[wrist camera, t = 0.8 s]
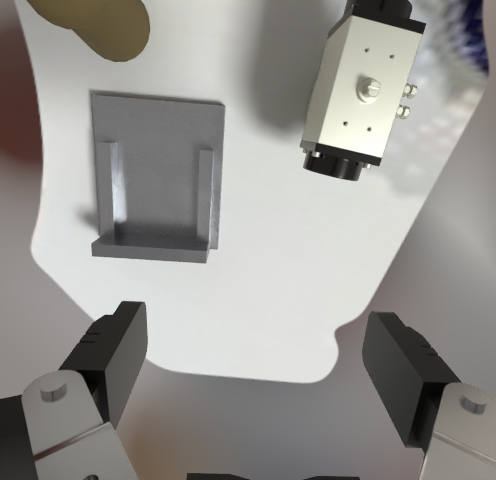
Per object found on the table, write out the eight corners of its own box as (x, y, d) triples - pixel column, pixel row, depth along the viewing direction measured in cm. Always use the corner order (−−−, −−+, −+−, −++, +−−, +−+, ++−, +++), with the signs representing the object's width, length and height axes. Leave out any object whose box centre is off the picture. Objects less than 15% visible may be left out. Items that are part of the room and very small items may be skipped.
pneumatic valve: (287, 159, 34) (312, 174, 23) (320, 28, 30) (368, -33, 19) (340, 171, 34) (390, 192, 23) (379, 43, 31) (460, -7, 20)
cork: (121, 77, 31) (63, 51, 21) (66, 24, 30) (-27, -31, 20) (164, 23, 30) (123, -34, 20) (108, -35, 29) (32, -129, 18)
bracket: (96, 95, 32) (70, 89, 27) (225, 106, 32) (222, 102, 28) (103, 238, 36) (83, 255, 31) (217, 246, 37) (214, 263, 32)
